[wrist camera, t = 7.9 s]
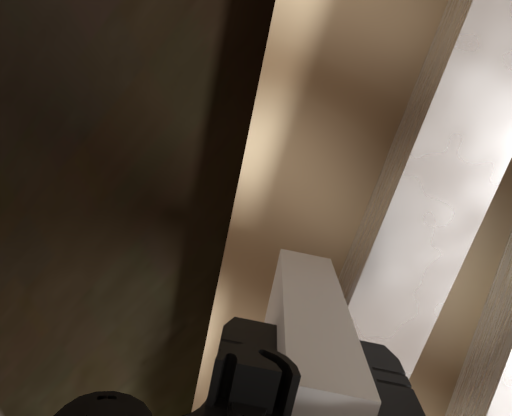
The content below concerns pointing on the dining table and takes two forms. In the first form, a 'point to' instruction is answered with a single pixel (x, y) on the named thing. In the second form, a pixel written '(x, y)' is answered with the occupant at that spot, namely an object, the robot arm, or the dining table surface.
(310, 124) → the board
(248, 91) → the dining table surface
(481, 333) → the base
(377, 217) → the tong arm
